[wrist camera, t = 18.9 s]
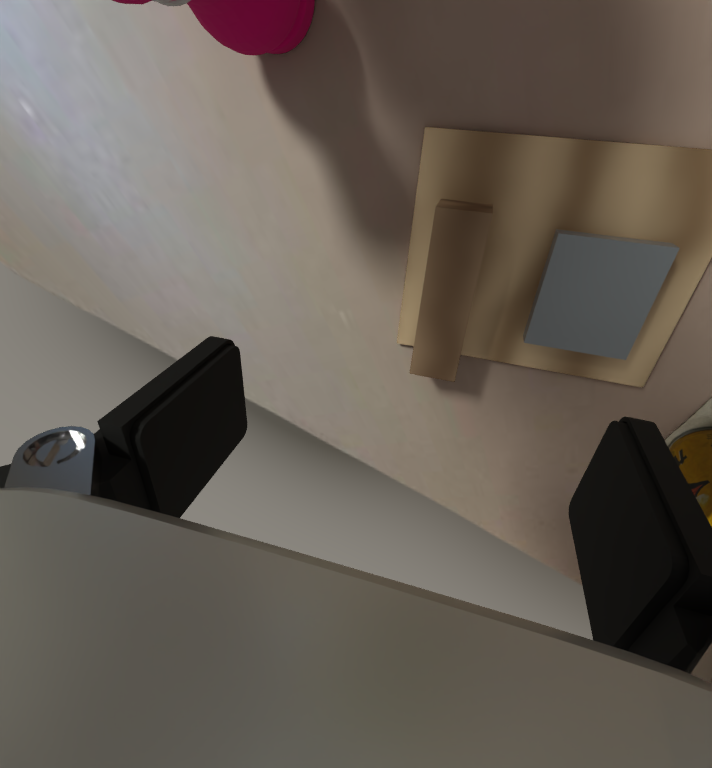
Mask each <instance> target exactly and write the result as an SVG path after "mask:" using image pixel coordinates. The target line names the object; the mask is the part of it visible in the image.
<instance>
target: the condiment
mask: <svg viewBox="0 0 712 768" xmlns="http://www.w3.org/2000/svg"><path fill="white" fill-rule="evenodd" d="M665 442H666V444H667V446H668V448H669V450H670V451H671V453H672V455H673V457H674V459H675V461H676V462H677V464H678V466H679V468H680V470H681V472H682V473H683V475H684V477H685V479H686V481H687V483H688V484H689V486H690V488H691V490H692V492H693V494H694V496H695V497H696V499H697V501H698V503H699V505H700V507H701V508H702V510H703V512H704V514H705V516H706V518H707V519H708V521H709V523H710V525H711V527H712V398H711V399H710V400H709V401H708V402H707V403H706V404H705V405H704V406H703V407H701V408H700V409H699V410H698V411H697V412H696V413H695V414H694V415H693V416H692V417H690V418H689V419H688V420H687V421H686V422H685V423H684V424H683V425H681V427H679V428H678V429H677V430H675V431H674V432H673V433H672V434H671V435H670V436H669V437H668V438H667V439H666V440H665Z"/></svg>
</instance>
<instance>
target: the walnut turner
mask: <svg viewBox="0 0 712 768" xmlns="http://www.w3.org/2000/svg"><path fill="white" fill-rule="evenodd" d="M492 215H493V204H485V203H476V202H467V201H458V200H449V199H441V200H440V201H439V203H438V204H437V206H436V207H435V214H434V220H433V226H432V233H431V239H430V246H429V252H428V258H427V265H426V271H425V278H424V284H423V290H422V297H421V303H420V310H419V316H418V323H417V329H416V335H415V342H414V348H413V355H412V361H411V367H410V374H415V375H420V376H425V377H431V378H436V379H441V380H446V381H451V382H455V377H456V373H457V368H458V364H459V360H460V355H461V351H462V347H463V342H464V338H465V333H466V329H467V325H468V320H469V316H470V312H471V307H472V303H473V298H474V294H475V290H476V285H477V281H478V277H479V272H480V268H481V263H482V259H483V255H484V250H485V246H486V241H487V237H488V233H489V228H490V224H491V220H492Z"/></svg>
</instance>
